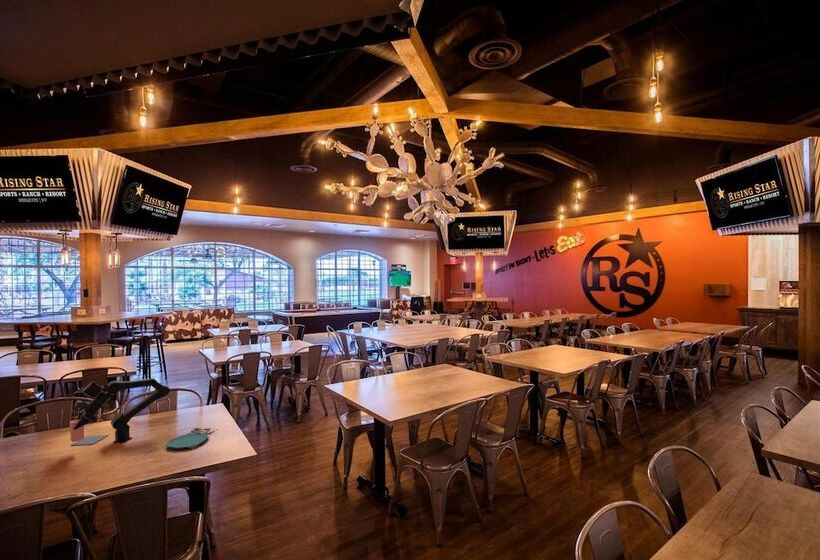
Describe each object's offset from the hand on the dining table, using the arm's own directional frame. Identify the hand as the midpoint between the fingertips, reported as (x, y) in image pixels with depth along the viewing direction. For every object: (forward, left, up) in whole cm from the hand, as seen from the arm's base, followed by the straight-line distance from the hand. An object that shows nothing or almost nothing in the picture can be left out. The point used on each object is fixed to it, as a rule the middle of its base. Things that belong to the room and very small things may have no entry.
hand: (73, 428), depth 208 cm
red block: (-1, -1, -7) cm, 7 cm away
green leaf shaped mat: (-52, -25, -14) cm, 59 cm away
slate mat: (+8, -15, -13) cm, 22 cm away
